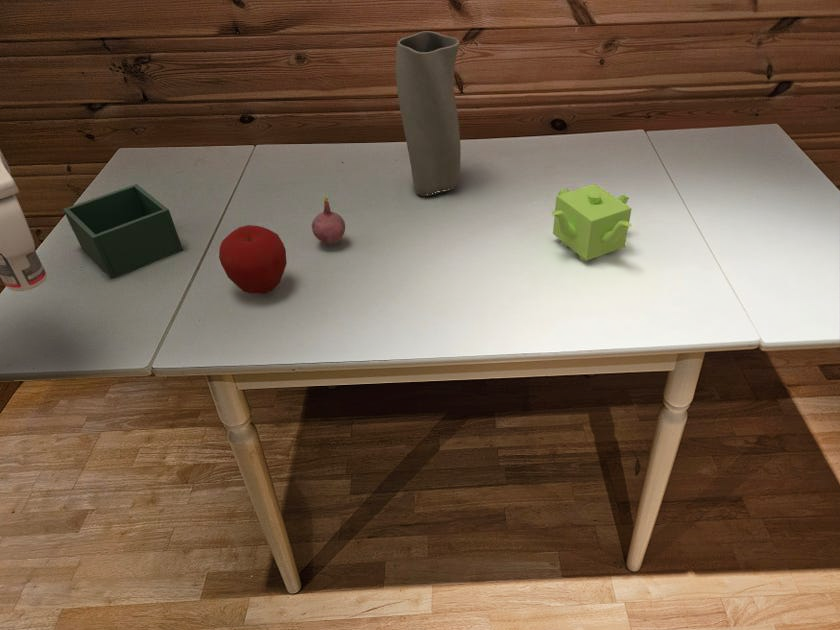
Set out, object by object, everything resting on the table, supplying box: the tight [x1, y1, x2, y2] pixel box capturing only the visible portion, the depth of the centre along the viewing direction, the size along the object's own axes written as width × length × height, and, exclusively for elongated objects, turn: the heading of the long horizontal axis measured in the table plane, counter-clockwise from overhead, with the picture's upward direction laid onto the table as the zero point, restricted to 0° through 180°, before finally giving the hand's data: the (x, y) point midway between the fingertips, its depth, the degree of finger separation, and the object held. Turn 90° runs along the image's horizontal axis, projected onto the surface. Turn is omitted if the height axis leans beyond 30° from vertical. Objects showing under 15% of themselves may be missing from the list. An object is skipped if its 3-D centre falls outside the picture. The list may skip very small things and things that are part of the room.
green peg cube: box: [550, 183, 632, 262], centre depth 122 cm, size 15×14×11 cm
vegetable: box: [311, 195, 346, 245], centre depth 122 cm, size 6×6×10 cm
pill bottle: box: [0, 250, 48, 292], centre depth 93 cm, size 5×5×10 cm
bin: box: [62, 183, 184, 280], centre depth 121 cm, size 14×14×9 cm
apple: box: [218, 224, 287, 295], centre depth 111 cm, size 11×11×12 cm
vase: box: [395, 30, 462, 197], centre depth 132 cm, size 12×12×30 cm
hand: (14, 257), depth 93 cm, fingers closed on pill bottle, 5 cm apart
